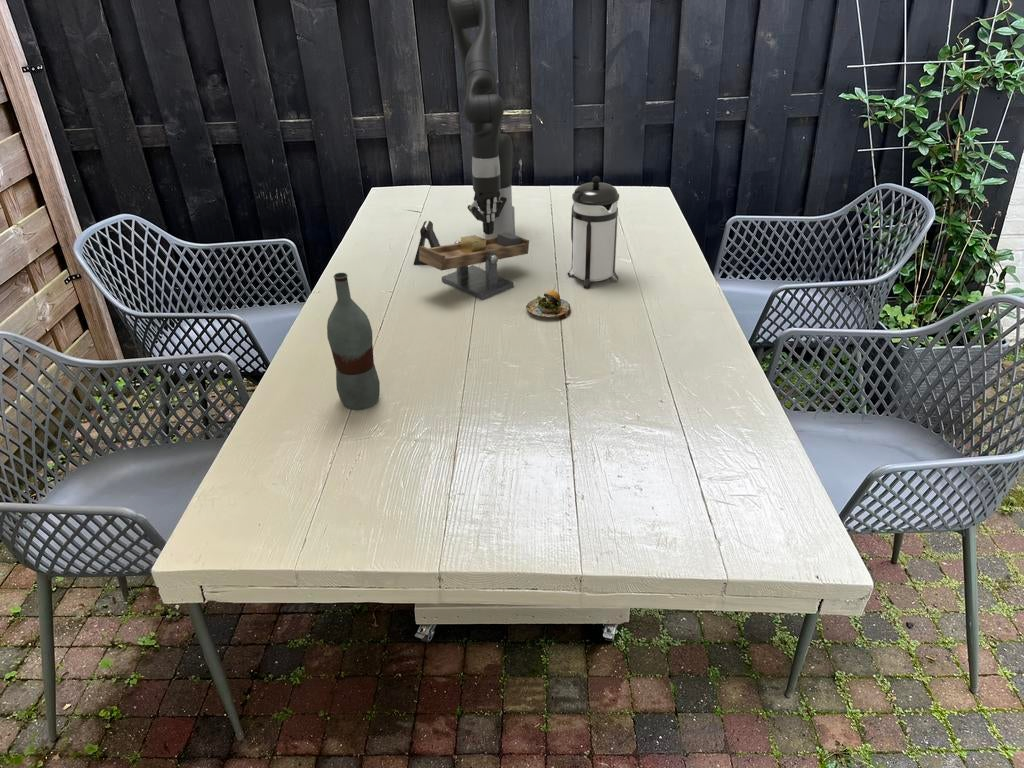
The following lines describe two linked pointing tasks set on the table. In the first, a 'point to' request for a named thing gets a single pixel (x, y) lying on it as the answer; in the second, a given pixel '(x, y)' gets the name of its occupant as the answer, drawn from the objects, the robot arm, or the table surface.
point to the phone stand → (433, 241)
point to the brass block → (472, 244)
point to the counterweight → (508, 239)
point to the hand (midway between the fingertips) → (488, 233)
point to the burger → (549, 306)
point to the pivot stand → (479, 279)
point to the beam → (455, 258)
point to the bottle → (352, 350)
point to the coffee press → (594, 231)
